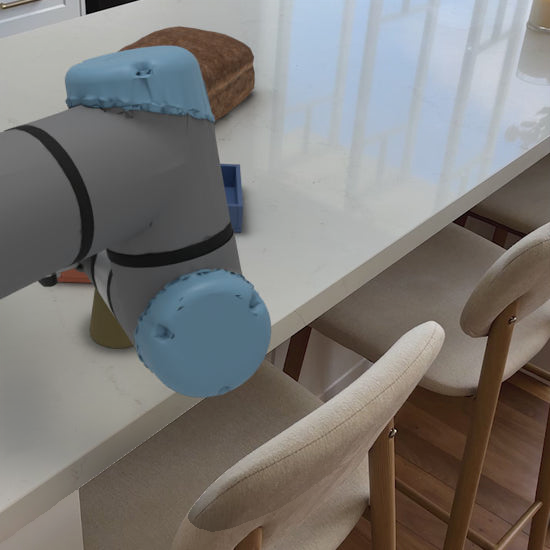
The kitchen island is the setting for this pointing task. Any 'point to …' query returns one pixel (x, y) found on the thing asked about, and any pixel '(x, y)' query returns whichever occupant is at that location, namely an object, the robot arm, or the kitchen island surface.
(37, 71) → the kitchen island surface
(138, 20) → the kitchen island surface
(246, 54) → the bread
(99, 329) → the olive green pawn
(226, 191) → the blue bin
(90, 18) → the kitchen island surface
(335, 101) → the kitchen island surface
